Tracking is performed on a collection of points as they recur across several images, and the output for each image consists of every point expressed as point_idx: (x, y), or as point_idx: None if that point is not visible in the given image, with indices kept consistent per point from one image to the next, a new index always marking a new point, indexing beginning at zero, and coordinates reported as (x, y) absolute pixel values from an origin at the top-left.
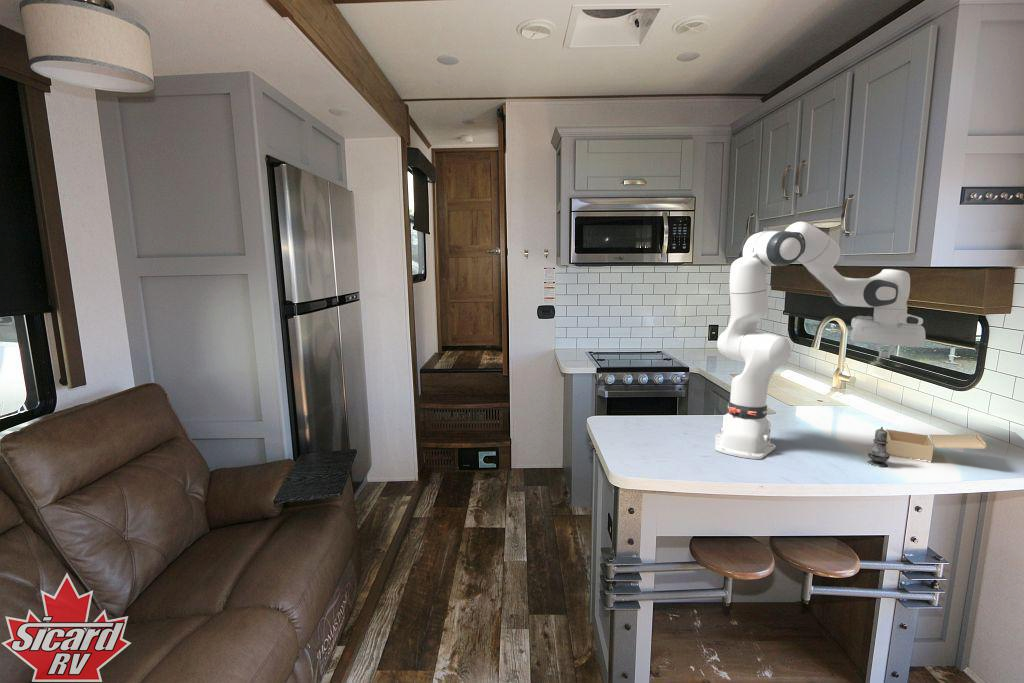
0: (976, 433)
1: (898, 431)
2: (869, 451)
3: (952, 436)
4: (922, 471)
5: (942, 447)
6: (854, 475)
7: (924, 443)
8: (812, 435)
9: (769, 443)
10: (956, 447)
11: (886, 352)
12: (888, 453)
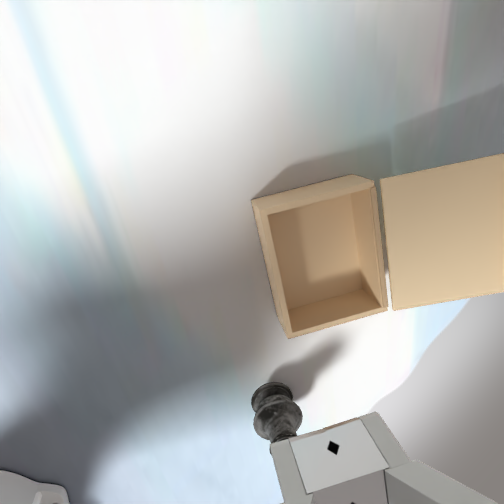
0: None
1: (296, 206)
2: (260, 431)
3: (444, 189)
4: (351, 370)
5: (408, 306)
6: (251, 494)
7: (358, 195)
8: (67, 300)
9: (43, 496)
10: (440, 302)
11: (372, 500)
12: (296, 410)
